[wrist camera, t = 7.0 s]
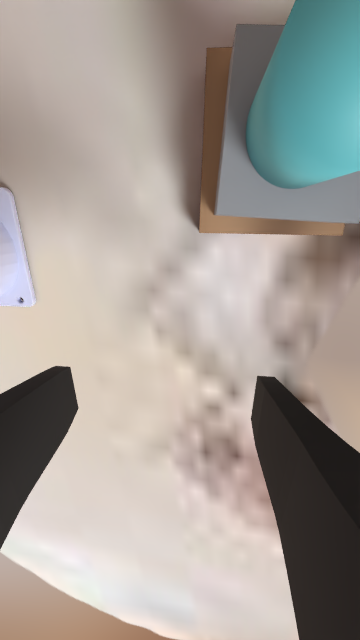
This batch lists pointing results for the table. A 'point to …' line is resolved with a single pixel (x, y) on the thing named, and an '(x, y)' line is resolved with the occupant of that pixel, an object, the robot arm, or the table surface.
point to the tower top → (235, 165)
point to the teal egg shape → (309, 98)
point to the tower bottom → (211, 157)
